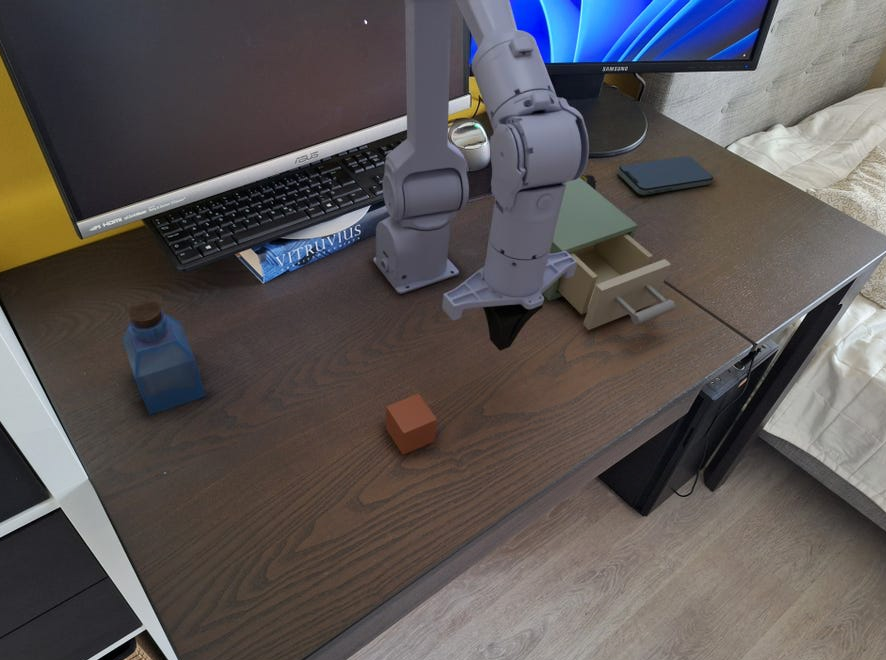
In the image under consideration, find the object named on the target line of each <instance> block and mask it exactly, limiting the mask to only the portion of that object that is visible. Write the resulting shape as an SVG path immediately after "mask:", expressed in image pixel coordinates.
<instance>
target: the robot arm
mask: <svg viewBox="0 0 886 660" xmlns="http://www.w3.org/2000/svg"><path fill="white" fill-rule="evenodd" d="M455 2H456V4H457V6H458V8H459V11H460V12H461V15H462V17H463V19H464V21H465V23H466V26H467V28H468V30H469V32H470V34H471V36H472V38H473V40H474V42H475V45H476V47H477V49H476V51H475V53H474V55H473V58H472V61H471V71H472V74H473V76H474V77H473V78H474V79H475V83H476V85H477V88H478V90H479V94H480V97H481V99H482V102H483V105H484V108H485V111H486V114H487V117H488V119H489V122H490V125H491V128H492V131H493V134H492V135H490V139H489V152H490V153H489V155H490V157H489V158H490V164H491V182H490V186H491V194H492V196H493V197H494V204H493V211H492V215H491V224H490V230H489V236H488V242H487V249H486V253H485V254H486V255H485V261H484V265H483V266H482V267H481V268H479V269H478V270H477V271H475V273H473V274H472V275H470V276H469V277H468V278H467V279H465V280H464V281H463V282H462V283H460V284H459V285H458V286H456V287H455V288H453V289H452V290H449V291H447V292H444V293H443V297H442V306H441V308H442V310H443V312H445V314H446V315H447V316H448V317H449V318H450V320H451V321H453V322H454V321H457V320H460V319H462V316H463V312H466V311H470V310H472V309H475V308H482V310H483V312H484V315H485V318H486V323H487V328H488V336H489V340H490V342H491V343H492V344H493V345H494V346H495V347H496V348H497V350H498V351H500V352H501V351H503V350H506V349H509V348H510V347H511V346H512V345H513V343H514V341H515V340H516V338H517V337H518V335H519V333H520V332H521V330H522V329H523V327H524V326H525V325H526V324H527V323H528V321H529V320H530V319H531V318H533V316H534V315H535V314H537V313H538V312H539V311H540V310H542V309H543V307H544V304H545V296H544V295H543V294H542V293H543V292H544V291H545V290H546V289H548V288H549V287H550V286H551V285H552V284H553V283H554V282H555V281H556V280H558V279H559V278H560V277H561V276H563V277H564V278H570V277H572V276H574V273H575V269H576V266H577V261H576V260H575V259H574V258H573V257H572V256H571V255H570V254H569V253H568V252H567V251H563V252H559V253H554V254H549V253H550V249H551V245H552V241H553V237H554V233H555V229H556V225H557V220H558V216H559V212H560V208H561V204H562V200H563V196H564V192H565V188H566V184H565V183H566V182H569V181H571V180H577V179H578V178H580V177H581V175H583V174H584V172H585V170H586V168H587V166H588V163H589V162H588V161H589V156H590V155H589V154H590V142H589V141H590V140H589V134H588V129H587V127H586V123H585V120H584V117H583V115H582V114H581V112H580V111H579V110H578V109H576V108H575V107H573V106H570V105H569V103H568V101H567V99H566V98H564V97H558V96H557V94H556V90H555V87H554V85H553V83H552V81H551V78H550V75H549V73H548V72H549V71H548V70H547V67H546V65H545V62H544V60H543V57H542V54H541V52H540V49H539V46H538V44H537V41H536V38H535V37H534V36H533V35H532V34H530V33H529V32H527V31H525V30H518V28H517V23H516V19H515V16H514V13H513V9H512V5H511V2H510V0H455ZM404 18H405V19H404V20H405V22H404V23H405V71H406V72H405V80H406V81H405V83H406V85H405V86H406V88H405V89H406V139H404V140H403V141H402V142H401V143H400V144H398V145H397V146H396V147H395V148H393V149H392V150H391V151H390V152H388V154H386V156H385V162H384V172H383V177H382V195H383V201H384V205H385V208H386V211H387V213H388V215H389V216H388V217H386V218H384V219H382V220H381V221H378V222H377V224H376V226H375V256H374V257H373V260H372V261H373V263H374V264H375V265H376V267H377V268H378V269H379V270H380V272H381V274H382V275H383V276H384V277H385V278H386V280H387V281H388V282H389V284H390V285H391V286H392V287H393V289H394V290H395V291H396V293H397V294H400V295H402V294H405V293H408V292H412V291H414V290H419V289H420V288H423V287H426V286H429V285H432V284H435V283H438V282H441V281H444V280H447V279H450V278H454V277H456V276H459V274H460V272H459V269H458V268H457V267H456V266H455V265H454V264H453V262H451V260H450V259H449V258H448V255H449V245H450V237H451V235H450V234H451V227H452V221H453V220H456V219H457V215H458V211H462V210H464V209H465V207H466V205H467V203H468V201H469V196H470V195H469V194H470V185H469V178H468V174H467V173H468V172H467V160H466V158H465V156H464V154H463V152H462V151H461V149H460V148H458V147H457V146H456V145H455V144H453V143H452V142H450V141H449V112H450V111H449V108H450V102H449V101H450V72H451V71H450V67H451V66H450V65H451V29H452V27H451V25H452V24H451V23H452V0H404Z"/></svg>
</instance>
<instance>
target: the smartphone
mask: <svg viewBox="0 0 886 660" xmlns="http://www.w3.org/2000/svg"><path fill="white" fill-rule="evenodd" d="M617 174H618V175H619V176H620V177H621V178H622V179H623V180H624V182H626V183H627V184H628V186H630V187H631V188H632V189H633V190H634V191H635V192H636V193H637V194H639V195H642V196H646V195H651V194H659V193H665V192H671V191H677V190H684V189H688V188H689V189H690V188H695V187H702V186H707V185H711V184H712V182H713V181H714V176H712V174H711V173H710V172H709V171H708V170H706V169H705V168H704V167H703V166H702V165H701V164H700V163H698V161H696V160H695V159H693V158H692V157H690V156H687V155H685V156H679V157H672V158H671V157H670V158H665V159H656V160H651V161H644V162H637V163H636V162H635V163H630V164H622V165H620V166H619V167H618V170H617Z"/></svg>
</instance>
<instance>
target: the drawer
mask: <svg viewBox="0 0 886 660" xmlns="http://www.w3.org/2000/svg"><path fill="white" fill-rule="evenodd" d="M569 254H570V255H571V256H572V257H573V258H574V259H575V260H576V261H577V266H576V269H575V273H574V276H572V277H570V278H564V277H563V276H561V277H560V278H559V282H558V286H557V290H558V291H559V292H560V293H561V294H562V295H563V296H562V297H563V298H564V299H565V300H566V301H568V303H569V304H571V306H572V307H573V308H575V310H576V311H577V312H578V313H579V314H580V315H584V314H585V318H584V321H583V323H582V324H583V326H584V327H585V328H586V329H587V330H588V331H590V330H592V329H596V328H597V327H600V326H602V325H605V324H607V323H609V322H612V321H614V320H617V319H620V318H622V317H625V316H627V315H629V316H630V318H631V319H630V320H631V323H632V324H633V325H635V326H638V325H641V324H644V323H646V322H648V321H650V320H653V319H656V318H658V317H660V316H662V315H665V314H668V313H669V312H672V311H674V310H675V309H676V302H675V301H674V300H672V299H666V298H665V297H664V296H663V295H662V294H661V293H660V292H661V290H662V288H663V285H664V282H665V280H666V278H667V275H668V274H669V270H670V268H671V266H672V263H670V262H669V261H668V260H667V259H665V258H664V259H661V260H658V261H656V262H653V263H651V262H652V259H653V257H654V255H653V254H652V253H651V252H649V250H647V249H646V248H645V247H644V246H642V245H641V244H640V243H639V242H638V241H636V240H635V239H634V237H633V238H632V237H630V236H629V235H628V234H627V233H625V234H622V235H619V236H617V237H614V238H611V239H608V240H605V241H602V242H599V243H596V244H593V245H591V246H588V247H585V248H582V249H579V250H576V251H573V252H570V253H569ZM656 302H658V303H657V304H655V303H656ZM654 304H655V305H654ZM651 305H652V306H651ZM649 306H650V307H649ZM646 307H648V308H646ZM644 308H645V309H644ZM639 310H640V311H639Z"/></svg>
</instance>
